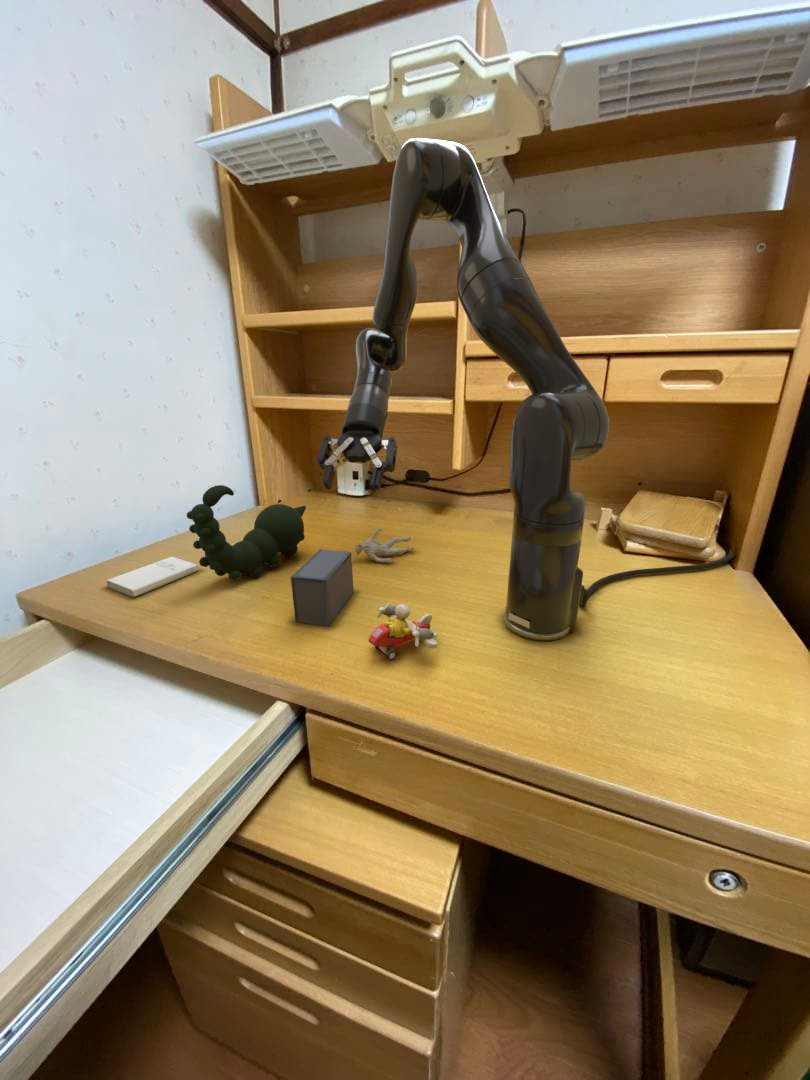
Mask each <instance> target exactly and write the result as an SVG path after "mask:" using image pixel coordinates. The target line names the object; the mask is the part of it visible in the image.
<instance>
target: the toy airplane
mask: <svg viewBox="0 0 810 1080" xmlns="http://www.w3.org/2000/svg"><path fill="white" fill-rule="evenodd" d="M410 613H411V609H410V607H409V606H408V605H407V604H403V603H402V604H398V605H397V606H395V605H391V603H390V602H388V603H387V604H386V605H383V606H381V607H379V608H378V613H377V614H376V618H377V619H379V618H381V616H382V615H384V616H386V617H387V618H388V622H383V624H382V623H381V624H380V625H378V626H377V627H376V628H375V629H374V630H373V631H372V633H371V634H370V636H369V637H368V643H370V644H371V645H372V646H374V649H375V650H377V651H382V652H383V653H384V654H385V658H386V659H387V660H388V661H389V660H390V661H393V660H394V659H395V658H396V657H397V652H396V650H395V649H393V648H397V647H400V646H402V645H403V644H406V643H409V642H410V641H412V640H414V646H415V647H416V648H418V647H419V646H420V642H422V643H423V644H424V645H425V646H427V647H429V648H431V649H437V648H438V644H439V643H438V641H437V640H436V639H437V636H438V634H437V633H435V632H434V631H433V630H431V623H432V619H433V615H432V614H431V613H426V614H425V615H423V616H422V617H421V618H420V619H419V621H418V620H417V621H416V620H415V621H410V620H409V619H408V618H409V617H410V615H411V614H410Z"/></svg>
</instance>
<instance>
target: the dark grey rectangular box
mask: <svg viewBox="0 0 810 1080" xmlns="http://www.w3.org/2000/svg"><path fill="white" fill-rule="evenodd" d="M353 574H354V573H353V558H352V551H345V550H333V549H318V550H317V551H316V552H315V553H314V554H313V555H312V556H311V557H310V558H309V559H308V560H307V561H306V562H305V563H304V564H303V565H302V566H301V567H299V569H297V570H296V571H295V572H294V573H293V574H292V575H291V576H290V583H291V593H292V602H293V603H292V604H293V611H294V620H295V621H294V622H295V623H300V624H308V625H317V626H328V627H331V625H332V624H333V623H334V621H335V620H336V619H337V617H338V616H339V614H340V613H341V611H342V610H343V609H344V607H345V606H346V604H347V603H348V601H349V600H350V599H351V597H352V596H353V594H354V593H355V592H354V575H353Z"/></svg>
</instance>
